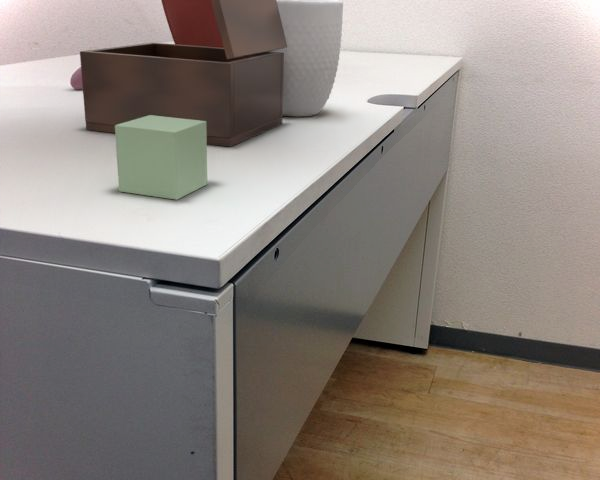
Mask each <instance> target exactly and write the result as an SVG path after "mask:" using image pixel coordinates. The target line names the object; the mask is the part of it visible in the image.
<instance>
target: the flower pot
mask: <svg viewBox="0 0 600 480" xmlns="http://www.w3.org/2000/svg"><path fill="white" fill-rule="evenodd" d="M161 5H162V8H163V12H164V15H165V19H166V22H167V25H168V28H169V32H170V35H171V38H172V41H173V44H178V45H191V46H205V47H218V48H224V46H223V43H222V39H221V35H220V31H219V27H218V24H217V20H216V16H215V12H214V8H213V5H212V1H211V0H161Z"/></svg>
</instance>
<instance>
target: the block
mask: <svg viewBox="0 0 600 480" xmlns="http://www.w3.org/2000/svg"><path fill="white" fill-rule="evenodd" d="M114 134H115V151H116V166H117V179H118V181H117V182H118V192H121V193H127V194H134V195H142V196H149V197H155V198H162V199H169V200H176V201H178V200H180V199H181V198H183V197H185V196H187V195H190V194H191V193H193V192H195V191H197V190H199V189H200V188H203V187H205V186H207V185H208V144H207V131H206V121H200V120H191V119H182V118H172V117H163V116H154V115H149V116H145V117H142V118H138V119H135V120H131V121H128V122H124V123H121V124H117V125H115V133H114Z"/></svg>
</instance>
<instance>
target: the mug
mask: <svg viewBox="0 0 600 480" xmlns="http://www.w3.org/2000/svg"><path fill="white" fill-rule="evenodd" d="M276 1H277V5H278V9H279V13H280V18H281V22H282V26H283V30H284V34H285V39H286V43H287V48H283V49H278V50H273V51H271V52H284V74H283V110H282V117H283V116H284V117H298V118H299V117H311V116H316V115H318V114H319V113H320V112H321V111H322V110H323V109H324V107H325V106H326V104H327V101H328V100H329V99H330V95H331V94H332V90H333V88H334V84H335V82H336V77H337V72H338V68H339V67H338V66H339V62H340V54H341V47H342V44H341V43H342V35H343V33H342V31H343V13H344V1H342V0H276Z"/></svg>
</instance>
